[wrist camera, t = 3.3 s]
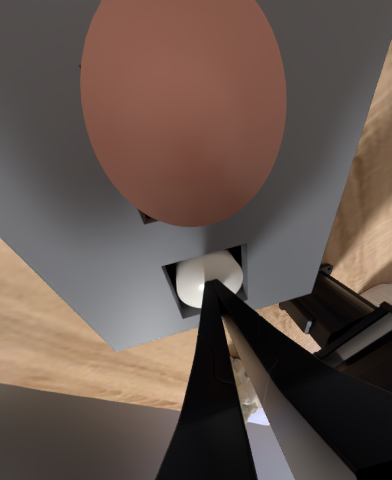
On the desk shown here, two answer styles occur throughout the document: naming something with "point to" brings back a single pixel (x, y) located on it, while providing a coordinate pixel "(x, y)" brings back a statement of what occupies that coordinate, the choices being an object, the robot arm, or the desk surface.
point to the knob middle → (184, 104)
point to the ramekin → (378, 294)
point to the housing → (151, 230)
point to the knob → (206, 275)
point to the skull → (245, 390)
